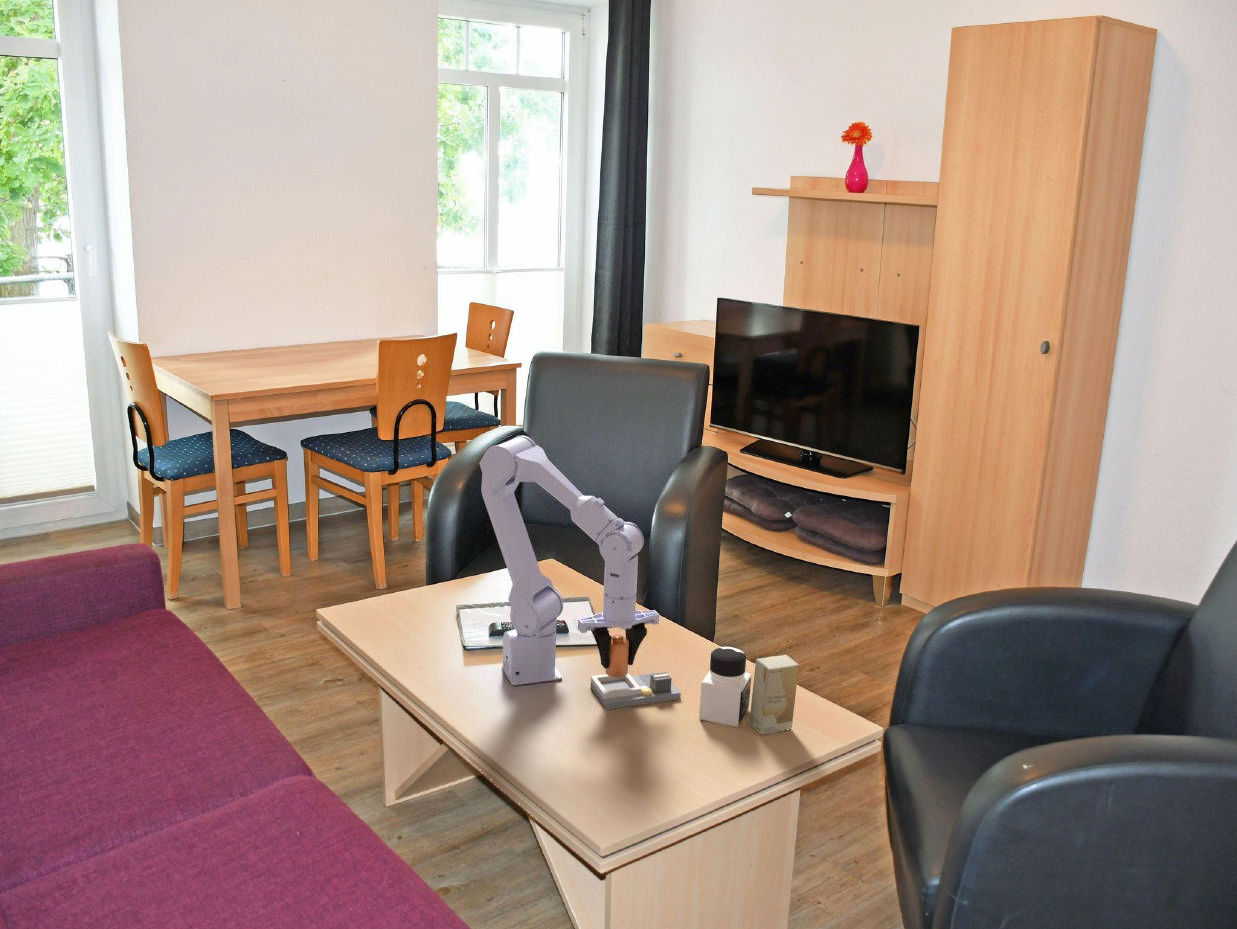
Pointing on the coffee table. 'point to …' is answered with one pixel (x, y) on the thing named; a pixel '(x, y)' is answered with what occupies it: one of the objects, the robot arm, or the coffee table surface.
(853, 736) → the coffee table surface
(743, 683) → the medicine bottle
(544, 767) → the coffee table surface
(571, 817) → the coffee table surface
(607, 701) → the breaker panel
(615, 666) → the orange bottle
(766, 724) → the skincare box
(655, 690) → the block
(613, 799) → the coffee table surface
